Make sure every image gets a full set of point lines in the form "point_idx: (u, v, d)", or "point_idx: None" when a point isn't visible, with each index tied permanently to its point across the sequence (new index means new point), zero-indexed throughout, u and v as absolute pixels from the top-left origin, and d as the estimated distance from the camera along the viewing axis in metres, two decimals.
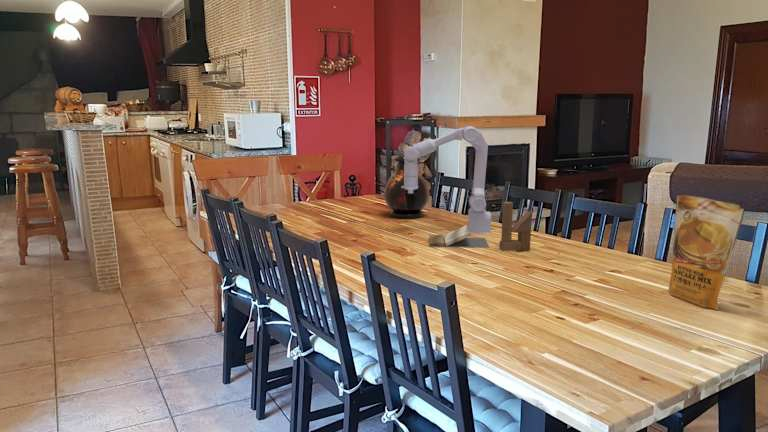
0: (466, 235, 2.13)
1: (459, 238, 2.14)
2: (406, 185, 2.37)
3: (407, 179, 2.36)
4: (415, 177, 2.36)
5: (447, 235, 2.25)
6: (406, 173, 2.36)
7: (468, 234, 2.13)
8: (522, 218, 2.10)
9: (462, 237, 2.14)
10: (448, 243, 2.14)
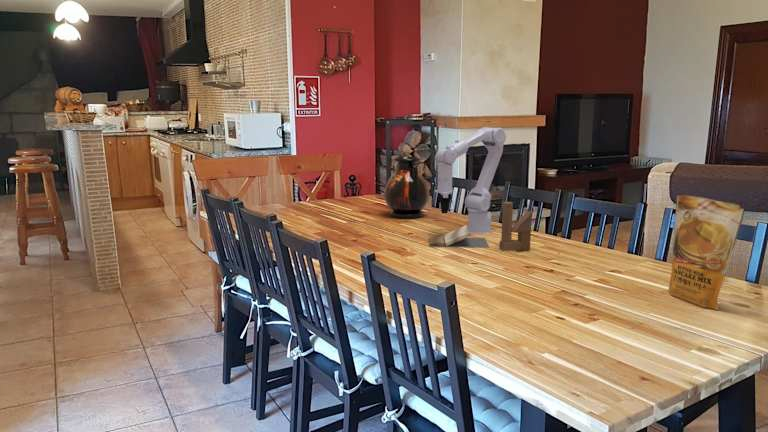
0: (466, 235, 2.13)
1: (459, 238, 2.14)
2: (440, 189, 2.27)
3: (441, 183, 2.26)
4: (450, 181, 2.26)
5: (447, 235, 2.25)
6: (444, 177, 2.25)
7: (468, 234, 2.13)
8: (522, 218, 2.10)
9: (462, 237, 2.14)
10: (448, 243, 2.14)
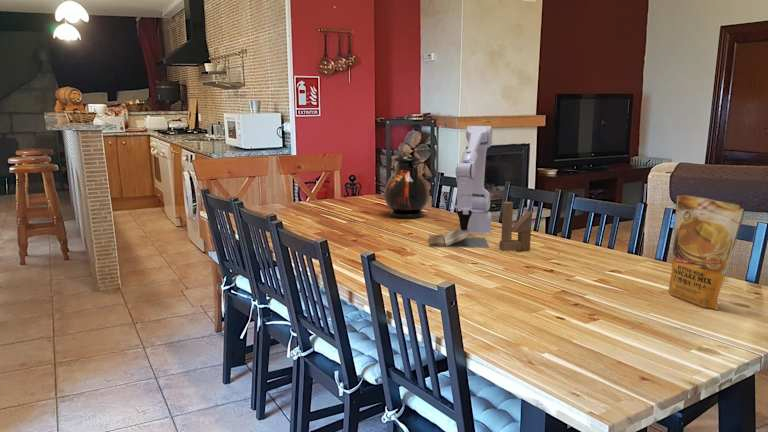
0: (466, 235, 2.13)
1: (459, 238, 2.14)
2: (460, 205, 2.16)
3: (461, 198, 2.16)
4: (470, 196, 2.16)
5: (447, 235, 2.25)
6: (469, 192, 2.15)
7: (468, 234, 2.13)
8: (522, 218, 2.10)
9: (462, 237, 2.14)
10: (448, 243, 2.14)
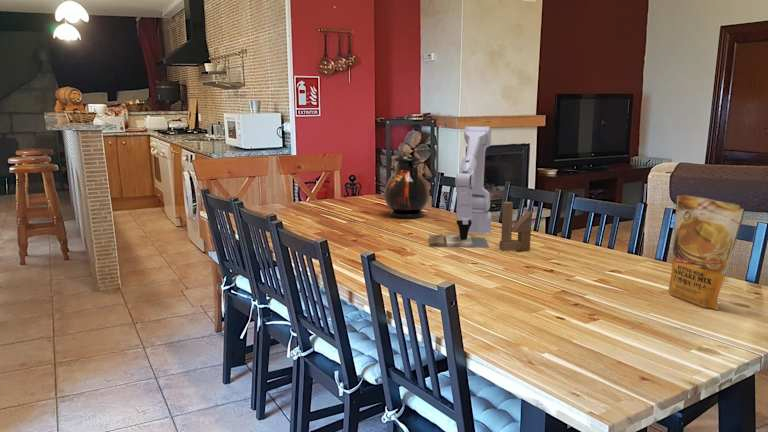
0: (469, 244, 2.14)
1: (461, 244, 2.14)
2: (459, 215, 2.17)
3: (461, 208, 2.16)
4: (469, 206, 2.16)
5: (449, 237, 2.25)
6: (468, 202, 2.16)
7: (471, 244, 2.14)
8: (522, 218, 2.10)
9: (464, 245, 2.14)
10: (449, 244, 2.14)
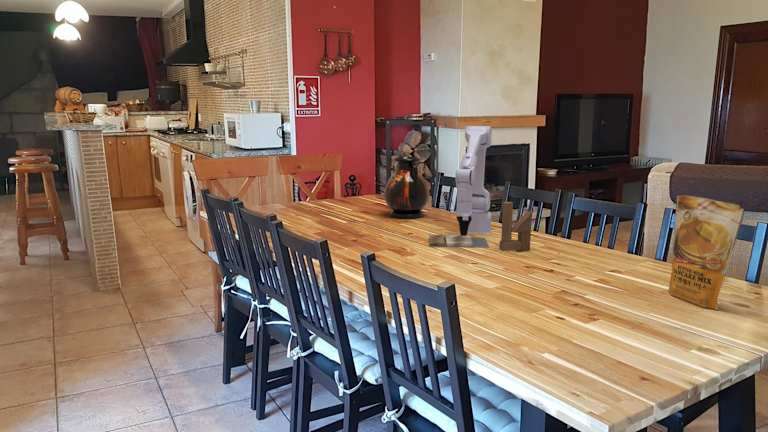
0: (469, 244, 2.14)
1: (461, 244, 2.14)
2: (459, 211, 2.17)
3: (461, 204, 2.16)
4: (469, 202, 2.16)
5: (449, 237, 2.25)
6: (468, 198, 2.15)
7: (471, 244, 2.14)
8: (522, 218, 2.10)
9: (464, 245, 2.14)
10: (449, 244, 2.14)
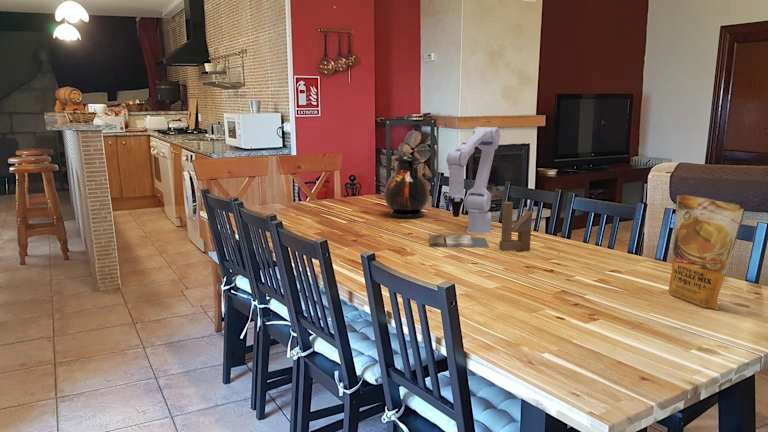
0: (469, 244, 2.14)
1: (461, 244, 2.14)
2: (452, 192, 2.22)
3: (453, 186, 2.21)
4: (461, 184, 2.21)
5: (449, 237, 2.25)
6: (459, 180, 2.20)
7: (471, 244, 2.14)
8: (522, 218, 2.10)
9: (464, 245, 2.14)
10: (449, 244, 2.14)
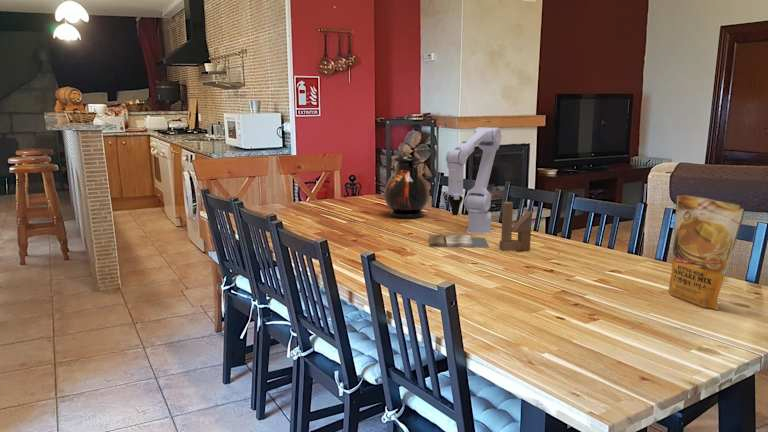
0: (469, 244, 2.14)
1: (461, 244, 2.14)
2: (451, 191, 2.23)
3: (452, 184, 2.22)
4: (461, 182, 2.22)
5: (449, 237, 2.25)
6: (458, 178, 2.21)
7: (471, 244, 2.14)
8: (522, 218, 2.10)
9: (464, 245, 2.14)
10: (449, 244, 2.14)
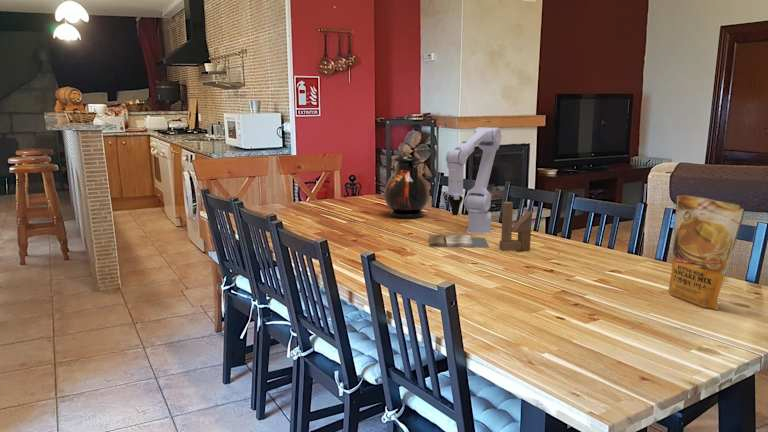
0: (469, 244, 2.14)
1: (461, 244, 2.14)
2: (451, 191, 2.23)
3: (452, 184, 2.22)
4: (461, 182, 2.22)
5: (449, 237, 2.25)
6: (458, 178, 2.21)
7: (471, 244, 2.14)
8: (522, 218, 2.10)
9: (464, 245, 2.14)
10: (449, 244, 2.14)
